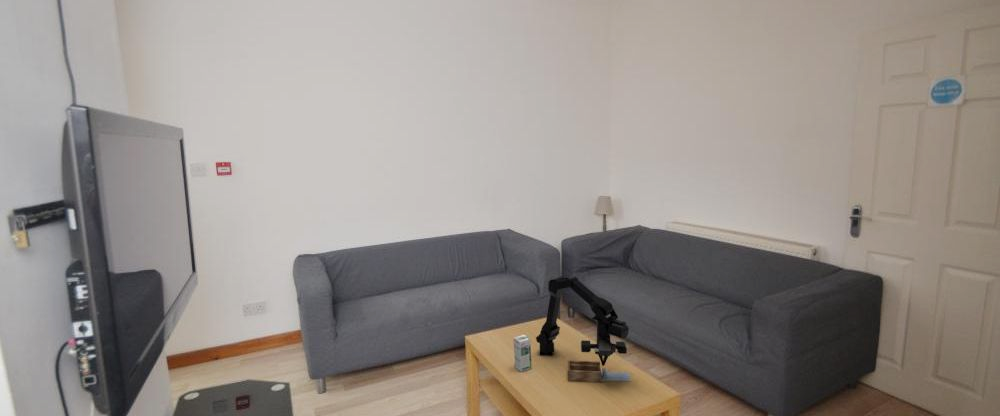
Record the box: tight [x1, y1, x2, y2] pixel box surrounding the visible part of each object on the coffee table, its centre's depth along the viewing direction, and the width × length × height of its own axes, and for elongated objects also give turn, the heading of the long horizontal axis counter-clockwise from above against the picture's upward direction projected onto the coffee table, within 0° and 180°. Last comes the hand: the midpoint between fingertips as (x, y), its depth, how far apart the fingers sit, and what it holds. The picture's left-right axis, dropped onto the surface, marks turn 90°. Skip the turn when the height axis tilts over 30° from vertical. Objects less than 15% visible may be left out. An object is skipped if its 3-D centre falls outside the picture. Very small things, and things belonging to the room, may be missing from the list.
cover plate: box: [601, 367, 632, 382], centre depth 192 cm, size 12×7×3 cm, turn 83°
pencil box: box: [567, 359, 602, 383], centre depth 193 cm, size 14×9×5 cm, turn 82°
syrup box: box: [512, 334, 533, 373], centre depth 201 cm, size 6×6×14 cm
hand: (603, 365), depth 192 cm, fingers closed
